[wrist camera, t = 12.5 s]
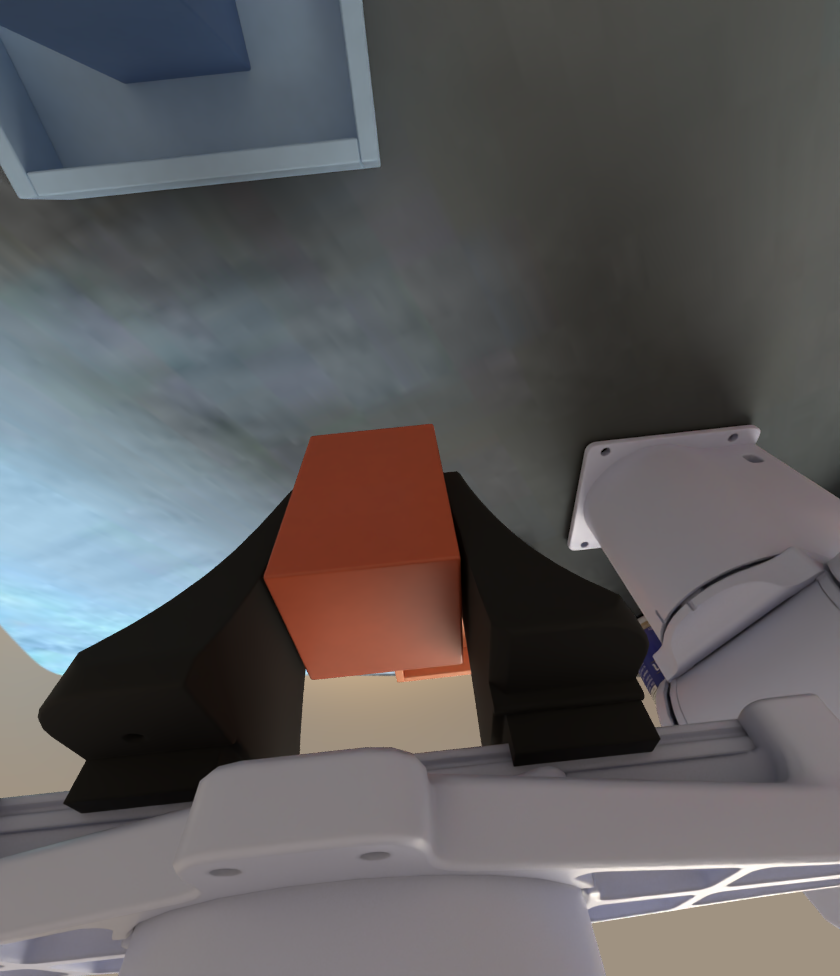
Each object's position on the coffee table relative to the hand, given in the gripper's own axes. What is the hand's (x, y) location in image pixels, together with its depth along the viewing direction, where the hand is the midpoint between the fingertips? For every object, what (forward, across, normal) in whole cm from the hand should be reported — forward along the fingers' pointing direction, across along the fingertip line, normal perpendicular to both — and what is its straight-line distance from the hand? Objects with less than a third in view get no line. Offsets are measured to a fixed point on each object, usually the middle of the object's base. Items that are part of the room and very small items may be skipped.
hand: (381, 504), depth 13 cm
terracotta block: (+1, 0, 0) cm, 1 cm away
